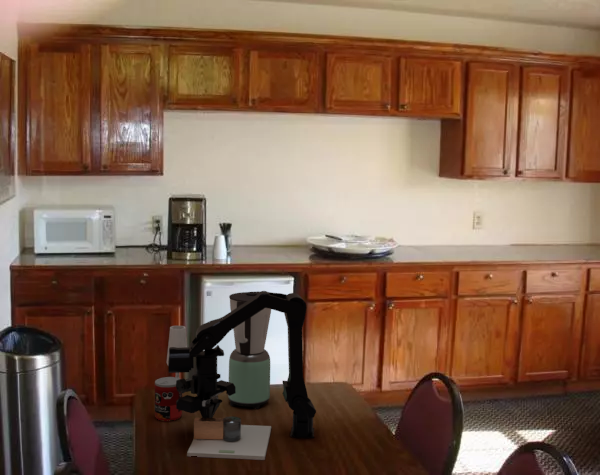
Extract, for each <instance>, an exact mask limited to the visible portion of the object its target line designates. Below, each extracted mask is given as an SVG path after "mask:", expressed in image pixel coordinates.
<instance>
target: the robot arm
mask: <svg viewBox="0 0 600 475" xmlns="http://www.w3.org/2000/svg"><path fill="white" fill-rule="evenodd" d="M258 292H259V293H258V294H257V295H256V296H254V297H253V298H251V299H250V300H248V301H247V302H245V303H244V304H242V305H240V306H239V307H237V308H236V309H234V310H233V311H231V310H230V312H228V313H226V314H225V315H223V316H221V317H220V318H219V317H218V318H216V319H212V320H210V321H207V322H205V323H203V324H201V325H200V326H198V328H196V332H195V337H194V338H193V339H192V341H191V342H190V343H189V345H188V346H187V347H184V348H176V347H170V348H169V361H168V365H167V367H168V369H167V370H168V374H176V373H179V374H181V373H190V371H192V369H195V373H194V374H193V375H192V376H191V377H189V378H186V379H185V378H180V379H179V380H177V381H176V389H177V391H178V392H180V391H181V392H182V394H185V393H188V392H190V394H193V395H196V396H192V395H189V394H186V395H184V396H182V397H181V398H179V399H178V400H177V401H176V409H179V410H182V412H186V413H189V414H194V413H197V412H200V415H201V418H214V416H215V414H216V412H217V410H218V408H219V406H220V405H221V403H222V402H223V400H222V399H220V398H219V396H218V395H220V394H222V393H224V392H226V395H227V396H228V395H229V396H230V395H233V394H235V385H234V384H233V383H230V382H229V381H225V380H223V379H221V373H218V357H224V356H225V352H224V349H222V348H221V347H220V345H218V344H219V343H220V342H221V341H222V340H223V339H224V338H225V337H226V336H227V334H228V333H230V331H233V329H234V328H235V327H237V326H238V325H240V324H241V323H243V322H244V321H246V320H247V319H249V318H251V317H252V316H254V315H255V314H257V313H258V312H260V311H261V310H263V309H264V308H269V309H271V310H273V311H277V312H280V313H283V314H284V317H285V322H286V326H287V349H288V352H287V353H288V354H287V355H288V377H287V380H282V386H283V391H282V392H281V393H282V396H283V399H284V401H285V403H287V404H288V407H289V409H291V410H292V426H291V430H290V438H297V439H300V438H301V439H314V438H315V427H314V418H315V415H316V414H317V409H316V408H315V406H314V403H313V402H312V400H311V399H310V398H309V397H308V391H307V387H306V383H305V379H304V354H303V352H304V351H303V350H304V349H303V346H304V345H303V326H304V323H305V320H306V315H307V314H306V313H307V304H306V301H305V300H304V298H303V297H302V296H300V295H299V294H298V293H297V292H291V293H288V294H285V293H279V292H278V293H277V292H269V291H266V290H262V291H258ZM194 358H195V363H194ZM194 364H195V367H196V368H194ZM219 379H220V380H219Z"/></svg>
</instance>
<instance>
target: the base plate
mask: <svg viewBox="0 0 600 475" xmlns="http://www.w3.org/2000/svg"><path fill="white" fill-rule="evenodd" d="M271 432H272V426H271V425H255V424H253V425H252V424H250V425H249V424H241V438H240V439H239V440H237V441H225V440H223V439H194V438H193V440H192V442H191V444H190V446H189V448H188V450H187V453H186V457H191V456H197V457H196V458H213V459H214V458H215V459H216V458H217V459H232V460H233V459H234V460H235V459H237V460H256V461H265V460H266V455H267V451H268V446H269V442H270V438H271V437H270V436H271Z"/></svg>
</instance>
